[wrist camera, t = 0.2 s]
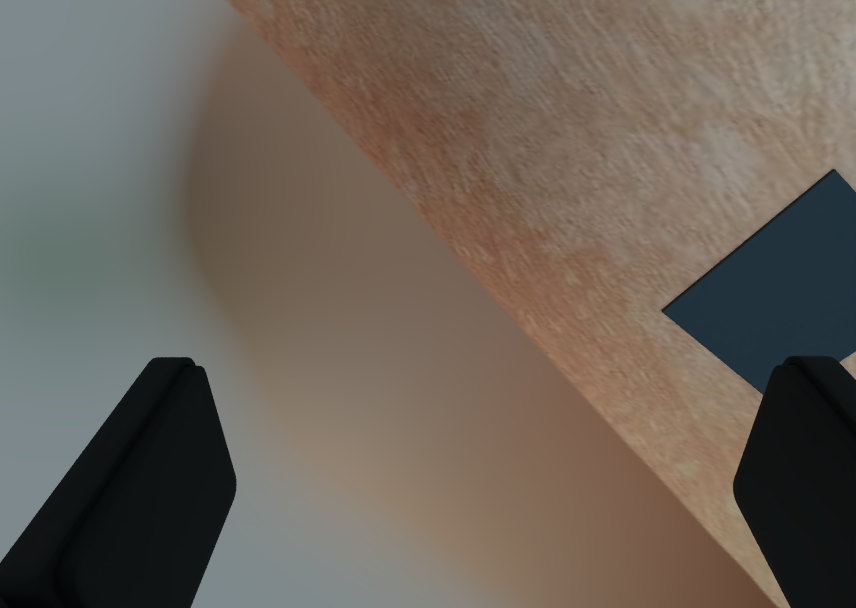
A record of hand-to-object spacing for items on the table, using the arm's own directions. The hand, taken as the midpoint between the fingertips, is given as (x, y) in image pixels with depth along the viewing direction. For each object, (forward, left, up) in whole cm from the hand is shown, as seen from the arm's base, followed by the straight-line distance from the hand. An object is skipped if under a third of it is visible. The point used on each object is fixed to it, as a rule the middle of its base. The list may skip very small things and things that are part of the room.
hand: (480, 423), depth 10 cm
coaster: (-4, +19, -19) cm, 28 cm away
